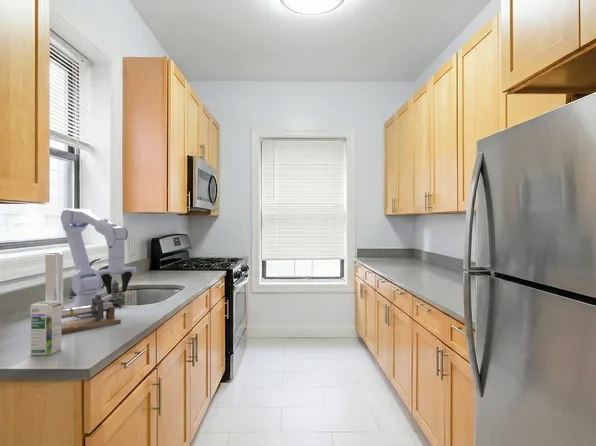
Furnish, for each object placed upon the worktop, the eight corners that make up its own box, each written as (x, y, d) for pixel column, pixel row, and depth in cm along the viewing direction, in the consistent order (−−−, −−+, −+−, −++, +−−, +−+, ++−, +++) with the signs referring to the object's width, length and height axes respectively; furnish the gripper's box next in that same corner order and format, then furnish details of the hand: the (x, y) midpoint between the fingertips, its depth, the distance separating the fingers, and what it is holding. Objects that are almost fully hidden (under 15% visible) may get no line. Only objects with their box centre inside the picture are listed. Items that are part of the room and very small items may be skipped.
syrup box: (29, 356, 108) (29, 304, 108) (43, 349, 114) (43, 300, 114) (49, 355, 108) (49, 304, 108) (62, 348, 114) (62, 300, 114)
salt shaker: (116, 308, 168) (116, 280, 168) (104, 307, 169) (104, 280, 169) (125, 305, 174) (124, 278, 174) (113, 304, 175) (113, 278, 175)
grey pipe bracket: (92, 316, 144) (91, 294, 144) (96, 315, 146) (96, 293, 146) (98, 319, 140) (98, 296, 140) (103, 319, 141) (103, 296, 141)
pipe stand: (43, 329, 135) (43, 309, 135) (108, 317, 151) (108, 299, 151) (53, 335, 127) (52, 314, 127) (120, 322, 143) (120, 303, 143)
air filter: (53, 307, 170) (53, 251, 170) (66, 307, 169) (66, 251, 169) (42, 310, 164) (41, 252, 164) (55, 311, 163) (55, 252, 163)
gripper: (100, 259, 140) (100, 296, 140) (139, 256, 150) (139, 291, 150) (93, 258, 144) (93, 294, 145) (131, 255, 155) (132, 289, 155)
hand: (116, 292), depth 148 cm, fingers open, 5 cm apart
